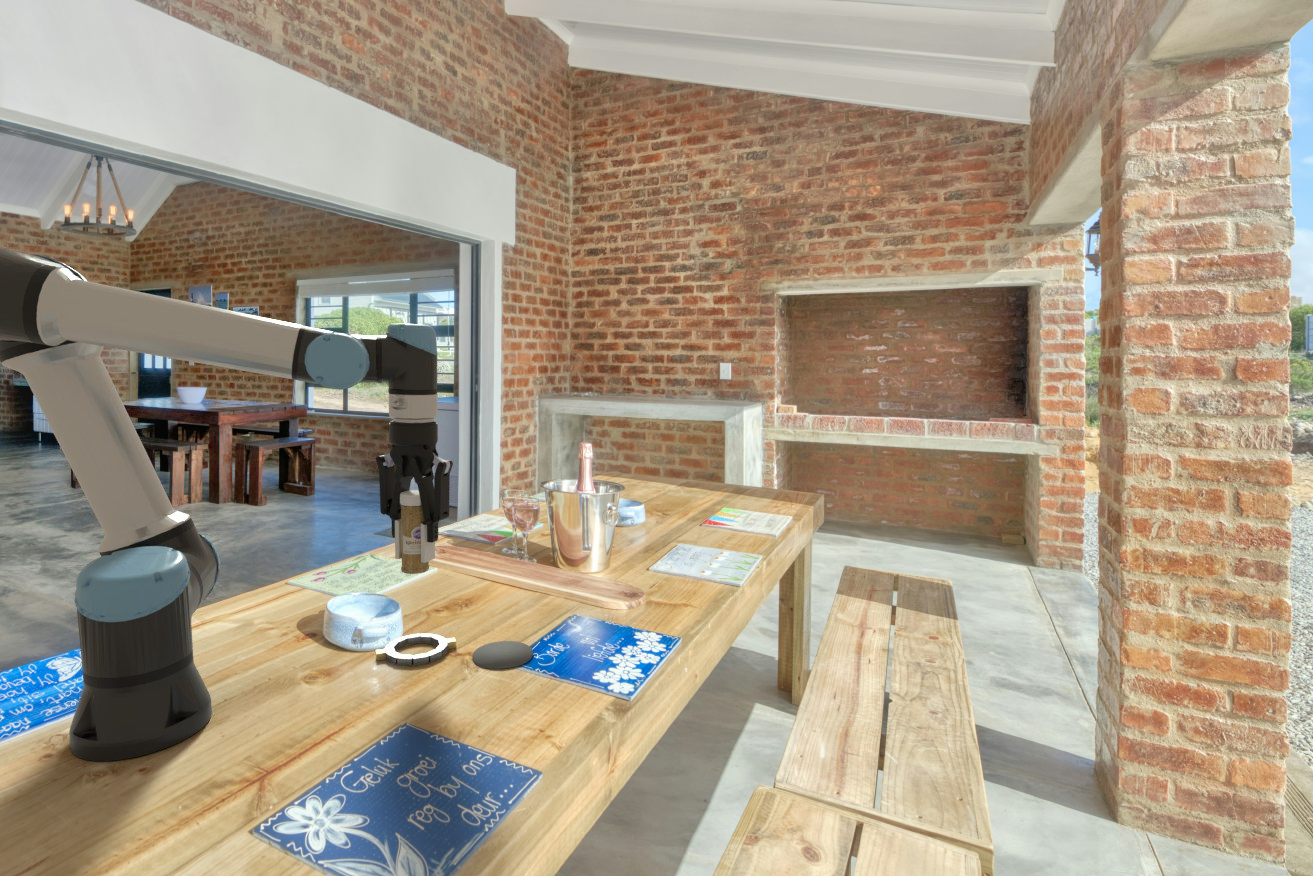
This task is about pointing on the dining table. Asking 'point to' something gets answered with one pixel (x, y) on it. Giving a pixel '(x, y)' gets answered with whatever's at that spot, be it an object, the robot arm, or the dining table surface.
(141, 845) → the dining table surface
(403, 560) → the sprinkles bottle
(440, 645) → the collar
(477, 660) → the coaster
